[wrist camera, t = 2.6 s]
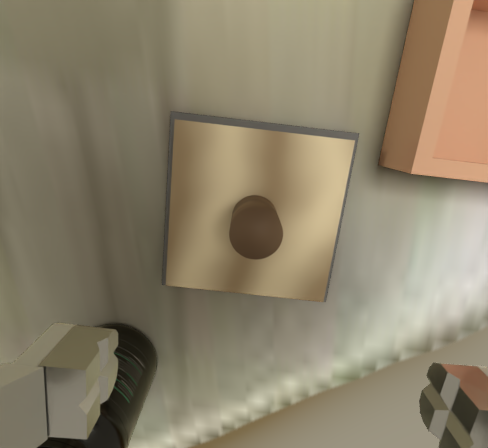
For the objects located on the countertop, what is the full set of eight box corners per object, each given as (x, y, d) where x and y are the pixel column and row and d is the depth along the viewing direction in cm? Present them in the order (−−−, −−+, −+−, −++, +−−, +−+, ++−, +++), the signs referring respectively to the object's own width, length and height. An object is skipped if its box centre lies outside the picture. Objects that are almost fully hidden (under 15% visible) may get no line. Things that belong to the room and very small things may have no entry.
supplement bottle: (121, 402, 30) (43, 572, 18) (62, 353, 29) (-62, 504, 17) (175, 358, 29) (127, 512, 17) (116, 306, 27) (21, 433, 16)
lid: (168, 279, 26) (151, 313, 21) (177, 119, 23) (159, 116, 18) (320, 295, 26) (337, 332, 22) (350, 139, 23) (378, 142, 18)
